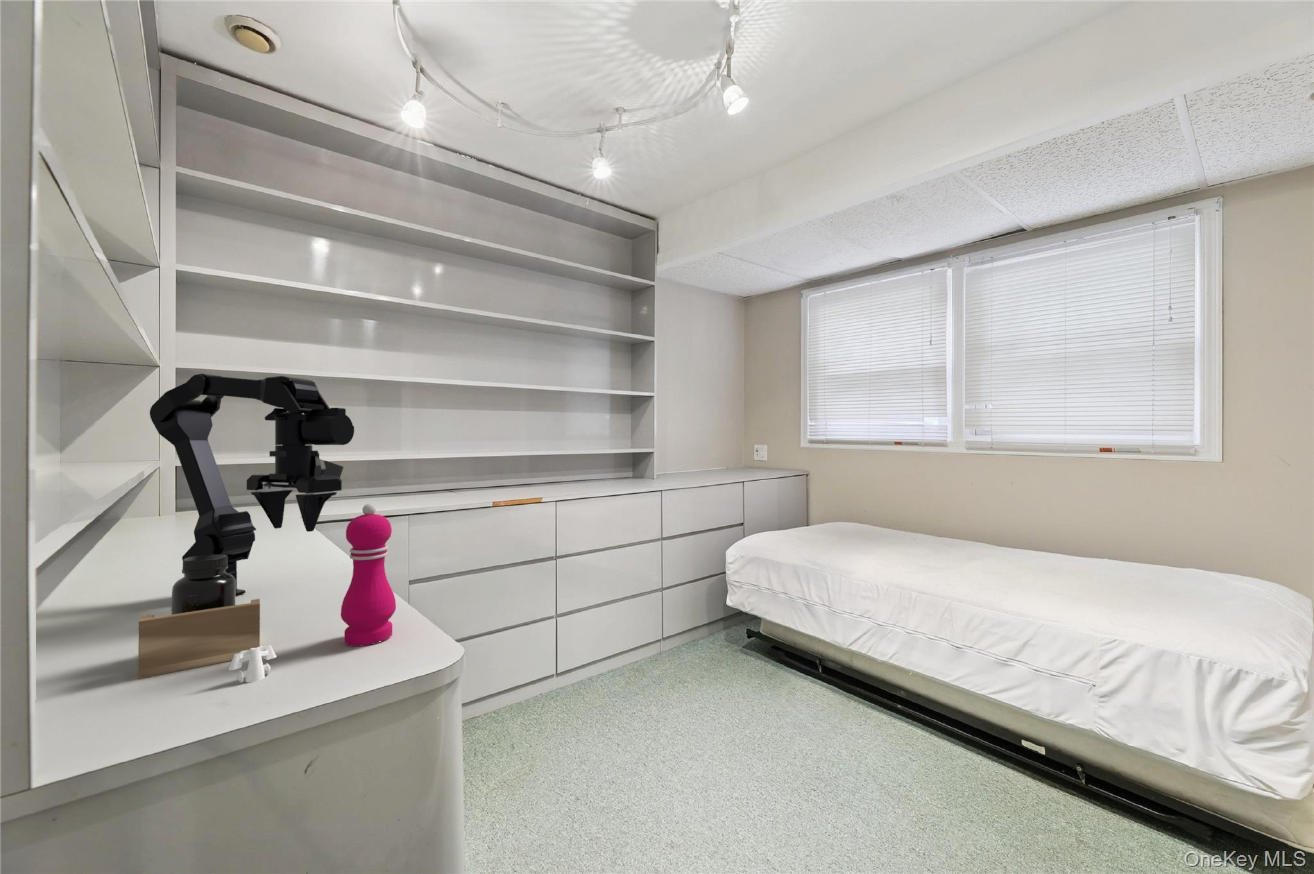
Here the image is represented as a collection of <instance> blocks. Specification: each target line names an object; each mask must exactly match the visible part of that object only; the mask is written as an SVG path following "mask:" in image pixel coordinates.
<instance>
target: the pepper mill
mask: <svg viewBox="0 0 1314 874" xmlns="http://www.w3.org/2000/svg"><path fill="white" fill-rule="evenodd" d="M376 511H377V507H376V506H375V504H373V503H366V504H364V506H363V507H362V513H363V514H361V515H358V516H356V517H354V518H353V519H351V520H350V522H349V523H348V524H347V526H346V528H345V539H346V541H347V542H348V544H350V546H351V548H350V550H349V552H350V555H349V559H351V560H352V566H353V569H352V575H351V576H352V577H351V581H350V584H349V586H348V588H347V591H346V593H345V595H344V598H343V600H342V604H341V606H340V618H341V620H342V621H343V623H345V624H346V625H347V627H346V629H344V631H343V632H344V636H343V637H344V641H343V642H344V643H345V644H346V645H347V646H350V645H352V646H351V647H361V646H360V645H366V646H371V645H370V644H373V643H377V642H379V641H383V640H385V641H387V640H388V639H387V638H389V637H390V636H391V637H392V636H393V623H392V621H391V620H390V619H391V618H392V616H393V615H394V614H395V612H396V608H397V603H396V602H397V601H396V597H395V594H394V591H393V590H392V589H393V588H391V585H390V583H389V581H388V579H387V575H386V568H385V559H386V557H387V556H388V554H389V552H388V548H389V546H387V545H386V543H387V541H389V539H390V538H391V536H392V531H393V530H392V524H391V522H390V520H389V519H388V518H387V517H385V516H383V515H381V514H377V513H376ZM391 637H390V638H391ZM390 638H389V639H390ZM386 639H387V640H386ZM383 642H384V641H383ZM377 644H378V643H377ZM373 645H374V644H373Z"/></svg>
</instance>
